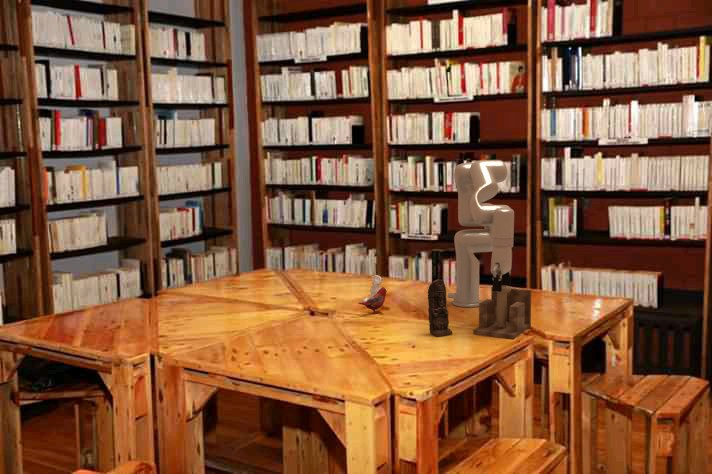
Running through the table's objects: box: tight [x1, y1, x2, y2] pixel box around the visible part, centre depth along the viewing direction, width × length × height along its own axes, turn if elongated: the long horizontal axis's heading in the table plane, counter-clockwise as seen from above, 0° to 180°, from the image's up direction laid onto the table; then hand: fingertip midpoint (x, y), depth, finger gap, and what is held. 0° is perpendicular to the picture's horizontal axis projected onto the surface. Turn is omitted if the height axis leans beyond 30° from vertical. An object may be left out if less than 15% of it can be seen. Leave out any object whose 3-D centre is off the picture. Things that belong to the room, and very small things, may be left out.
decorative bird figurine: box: [357, 286, 388, 315], centre depth 323 cm, size 3×18×10 cm, turn 137°
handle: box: [496, 285, 512, 328], centre depth 294 cm, size 5×6×15 cm
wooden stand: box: [472, 286, 532, 340], centre depth 295 cm, size 15×20×14 cm
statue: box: [427, 279, 453, 337], centre depth 291 cm, size 7×7×20 cm
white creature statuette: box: [361, 274, 385, 302], centre depth 343 cm, size 10×9×12 cm
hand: (501, 288), depth 294 cm, fingers open, 9 cm apart
